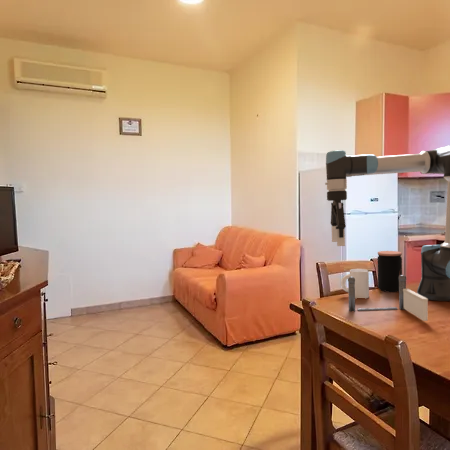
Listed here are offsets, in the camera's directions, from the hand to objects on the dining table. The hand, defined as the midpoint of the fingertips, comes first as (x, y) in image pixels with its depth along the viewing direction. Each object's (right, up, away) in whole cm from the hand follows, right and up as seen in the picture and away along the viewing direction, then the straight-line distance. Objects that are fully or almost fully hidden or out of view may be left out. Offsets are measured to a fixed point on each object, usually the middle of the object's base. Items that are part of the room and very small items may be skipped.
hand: (338, 243), depth 148 cm
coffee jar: (+34, -24, +30) cm, 51 cm away
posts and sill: (+16, -26, 0) cm, 31 cm away
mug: (+14, -25, +21) cm, 35 cm away
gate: (+25, -26, -10) cm, 37 cm away
